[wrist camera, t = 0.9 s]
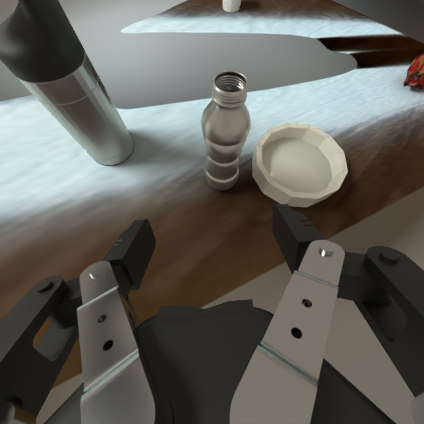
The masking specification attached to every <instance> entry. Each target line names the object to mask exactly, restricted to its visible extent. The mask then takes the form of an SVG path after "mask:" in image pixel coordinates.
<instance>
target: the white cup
mask: <svg viewBox="0 0 424 424" xmlns="http://www.w3.org/2000/svg"><path fill="white" fill-rule="evenodd" d="M240 4H241V0H223V9H224V10H225V11H227V12H236V11H238V10H239V9H240Z"/></svg>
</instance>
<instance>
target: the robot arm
mask: <svg viewBox="0 0 424 424" xmlns="http://www.w3.org/2000/svg"><path fill="white" fill-rule="evenodd" d="M18 1H19V2H18V5H17V7H16V9H15V11H14V12H13V14H11V15H10V17H9V18H7V19H6V20H5V21H4V22H3V23H2V24H1V25H0V60H1V61H2V62H3V63H4V64H5V65H6V66H7V67H8V68H9V70H10V71H11V72H12V73H13V74H14V75H15V76H16V77H17V78H18V79H19V80H20V81H21V82H22V83H23V84H24V85H25V86H26V87H27V89H28V90H29V91H30V92H31V93H32V94H33V95H34V96H35V97H36V98H37V99H38V100H39V101H40V102H41V103H42V104H43V106H44V107H45V108H46V109H47V110H48V111H49V112H50V113H51V114H52V115H53V116H54V117H55V118H56V119H57V120H58V122H59V123H60V124H61V125H62V126H63V127H64V128H65V129H66V130H67V131H68V132H69V133H70V134H71V135H72V137H73V138H74V139H75V140H76V141H77V142H78V143H79V144H80V145H81V146H82V147H83V148H84V149H85V150H86V152H87V153H88V154H89V155H90V156H91V157H92V158H93V159H94V160H95V161H96V162H98V163H100V164H103V165H115V164H118V163H121V162H123V161H124V160H126V159H127V158H128V157H129V156H130V155H131V153H132V151H133V149H134V142H133V139H132V137H131V136H130V134H129V132H128V130H127V128H126V126H125V124H124V122H123V121H122V119H121V117H120V115H119V113H118V111H117V109H116V108H115V106H114V104H113V102H112V100H111V98H110V96H109V95H108V93H107V91H106V89H105V87H104V85H103V83H102V82H101V80H100V78H99V76H98V74H97V73H96V71H95V69H94V67H93V65H92V63H91V61H90V60H89V58H88V56H87V54H86V52H85V50H84V48H83V46H82V44H81V43H80V41H79V39H78V37H77V35H76V34H75V31H74V30H73V28H72V26H71V24H70V22H69V20H68V18H67V16H66V15H65V13H64V11H63V9H62V7H61V5H60V3H59V1H58V0H18ZM273 233H274V236H275V238H276V240H277V243H278V245H279V247H280V249H281V251H282V253H283V255H284V258H285V260H286V262H287V264H288V266H289V268H290V271H291V273H292V277H291V280H290V282H289V284H288V286H287V289H286V290H285V292H284V295H283V297H282V299H281V301H280V303H279V305H278V308H277V310H276V312H275V314H272V313H270V312H268V311H266V310H263V309H260V308H256V307H253V302H252V300H239V301H228V302H225V303H222V304H219V305H216V306H213V307H210V308H207V309H201V308H196V307H190V306H185V305H175V306H162V307H160V308H159V312H158V315H156V316H154V317H151V318H149V319H148V320H146V321H144V322H143V323H142V324H140V322H139V319H138V317H137V315H136V312H135V310H134V307H133V305H132V302H131V300H130V298H129V296H128V294H129V291H130V290H138V289H139V287H140V284H141V282H142V279H143V277H144V274H145V272H146V269H147V267H148V264H149V261H150V259H151V256H152V254H153V251H154V249H155V245H156V240H155V237H154V234H153V231H152V228H151V226H150V223H149V221H148V220H147V219H143V220H135V221H134V222H133V223H132V225H131V226H130V228H129V229H127V230H125V231H124V232H123V233H122V234H121V235H120V236H119V238H118V239H117V241H116V242H115V243H114V246H112V248H111V249H110V251H109V252H108V254H107V255H106V256H105V258H104V259H103V261H101V262H97V263H95V264H93V265H91V266H89V267H88V268H86V269H85V270H84V271H83V272H82V274H81V276H80V277H79V278H76V279H73V280H70V281H67V282H65V281H64V280H63V278H62V277H61V276H52V277H49V278H46V279H44V280H42V281H41V282H39V283H38V284H36V285H35V286H34V287H33V288H32V289H31V290H30V291H29V292H28V293H27V294H26V295H25V296H24V297H23V298H22V299H21V300H20V302H19V303H18V304H17V305H16V306H15V307H14V308H13V309H12V310H11V311H10V313H9V314H8V315H7V316H6V317H5V318H4V319H3V320H2V321H1V322H0V424H36V417H37V415H38V413H39V411H40V409H41V407H42V406H43V404H44V402H45V400H46V398H47V396H48V394H49V392H50V390H51V388H52V386H53V385H54V383H55V381H56V379H57V377H58V375H59V373H60V371H61V369H62V367H63V365H64V363H65V362H66V360H67V358H68V356H69V354H70V352H71V350H72V348H73V346H74V344H75V342H76V340H77V339H78V337H79V338H80V348H81V359H82V370H83V380H84V382H83V383H82V384H81V385H80V387H78V389H77V390H76V391H75V392H74V393H73V394H72V395H71V396H70V397H69V398H68V399H67V400H66V401H65V402H64V403H63V404H62V405H61V406H60V407H59V408H58V409H57V410H56V411H55V413H53V415H52V416H51V417H50V418H49V419H48V420H47V421H46V422H45V423H44V424H396V423H395V422H393V421H392V420H391V419H390V418H389V417H388V416H387V415H386V414H385V413H384V412H383V411H381V410H380V409H379V408H378V407H377V406H376V405H375V404H374V403H373V402H372V401H370V400H369V399H368V398H367V397H366V396H365V395H364V394H363V393H362V392H360V391H359V390H358V389H357V388H356V387H355V386H354V385H353V384H352V383H351V382H349V381H348V380H347V379H346V378H345V377H344V376H343V375H342V374H341V373H340V372H338V371H337V370H336V369H335V368H334V367H333V366H332V365H331V364H330V363H329V362H327V361H326V360H325V359H324V358H323V356H324V352H325V348H326V343H327V338H328V334H329V329H330V325H331V320H332V316H333V311H334V307H335V302H336V297H338V298H343V299H348V300H352V301H354V302H355V304H356V306H357V307H358V309H359V310H360V312H361V313H362V315H363V317H364V318H365V320H366V321H367V323H368V324H369V326H370V327H371V329H372V331H373V332H374V334H375V335H376V337H377V338H378V340H379V342H380V343H381V345H382V346H383V348H384V350H385V351H386V353H387V354H388V356H389V357H390V359H391V360H392V362H393V364H394V365H395V367H396V368H397V370H398V371H399V373H400V375H401V376H402V378H403V379H404V381H405V382H406V384H407V386H408V387H409V389H410V390H411V392H412V393H413V395H414V397H415V399H414V400H413V401H412V405H411V411H412V415H413V419H414V421H415V423H416V424H424V271H423V270H422V269H421V268H420V267H419V266H418V265H417V264H416V263H414V262H413V261H412V260H411V259H410V258H409V257H407V256H406V255H405V254H403V253H401V252H399V251H397V250H395V249H392V248H388V247H383V246H374V247H371V248H369V249H368V250H367V253H366V255H365V254H357V253H349V252H344V250H343V249H342V248H341V247H340V246H339V245H337V244H335V243H333V242H331V241H327V240H324V238H323V237H322V236H321V235H320V233H319V232H318V231H317V230H316V228H315V227H314V226H313V225H312V224H311V222H310V221H309V220H308V219H307V217H306V216H305V215H304V214H302V213H300V212H299V211H292V209H291V208H290V207H289V205H288V204H279V205H274V207H273ZM46 319H48V320H49V321H50V322H51V323H52V326H51V327H50V329H49V330H48V332H47V333H46V335H45V336H44V338H43V339H42V341H41V342H40V344H39V345H38V347H37V348H36V350H35V349H34V347H33V339H34V337H35V335H36V333H37V332H38V331H39V329H40V328H41V326H42V325H43V323H44V322H45V321H46Z"/></svg>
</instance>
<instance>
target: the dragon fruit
mask: <svg viewBox="0 0 424 424" xmlns="http://www.w3.org/2000/svg"><path fill="white" fill-rule="evenodd" d="M407 71H408V72H407V77H406V80H405V81H404V85H406V84H407V85H408V86H410V87H411V86H412V87H417V85H419V87H420V89H424V53H423V54H421V55H420V56H418V57H417V58H415V59H414V61H413V62H412V64H411V66H410V67H409V69H408V70H407Z"/></svg>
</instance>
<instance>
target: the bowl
mask: <svg viewBox="0 0 424 424" xmlns="http://www.w3.org/2000/svg"><path fill="white" fill-rule="evenodd" d="M347 172H348V169H347V164H346V159H345V155H344V151H343V150H342V149H341V148H340V147H339V145H338V144H337V143H336V142H335V141H334V140H333V139H332V137H331V136H330V135H328V134H326V133H324V132H322V131H320V130H318V129H316V128H314V127H312V126H310V125H303V124H291V123H286V124H283V125H281V126H278V127H275V128H272V129H270V130H268V131H267V132H266V133H265V135H264V136H263V137H262V139H261V140H260V141H259V142H258V144H257V145H256V148H255V151H254V154H253V157H252V176H253V178H254V179H255V181H256V183H257V184H258V186H259V187H260V189H261V191H262V192H263V194H265V195H267V196H268V197H270V198H272V199H273V200H275V201H277V202H278V203H280V204H288V205H289V206H295V207H306V208H307V207H309V206H311V205H313V204H316V203H318V202H320V201H322V200H324V199H326V198H328V197H329V196H330V195H332V194H333V193H335V192H336V191H337V190H339V188H340V186H341V184H342V182H343V180H344V178H345V176H346V174H347Z"/></svg>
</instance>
